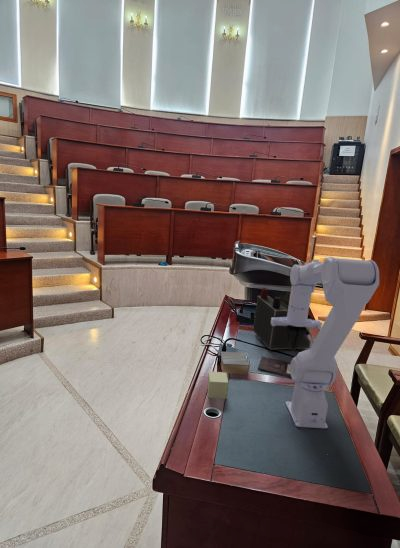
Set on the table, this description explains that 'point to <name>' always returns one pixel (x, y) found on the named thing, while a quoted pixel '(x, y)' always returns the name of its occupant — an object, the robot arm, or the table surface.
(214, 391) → the olive cube
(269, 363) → the chocolate bar
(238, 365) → the beech slab
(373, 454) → the table surface
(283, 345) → the voltmeter
